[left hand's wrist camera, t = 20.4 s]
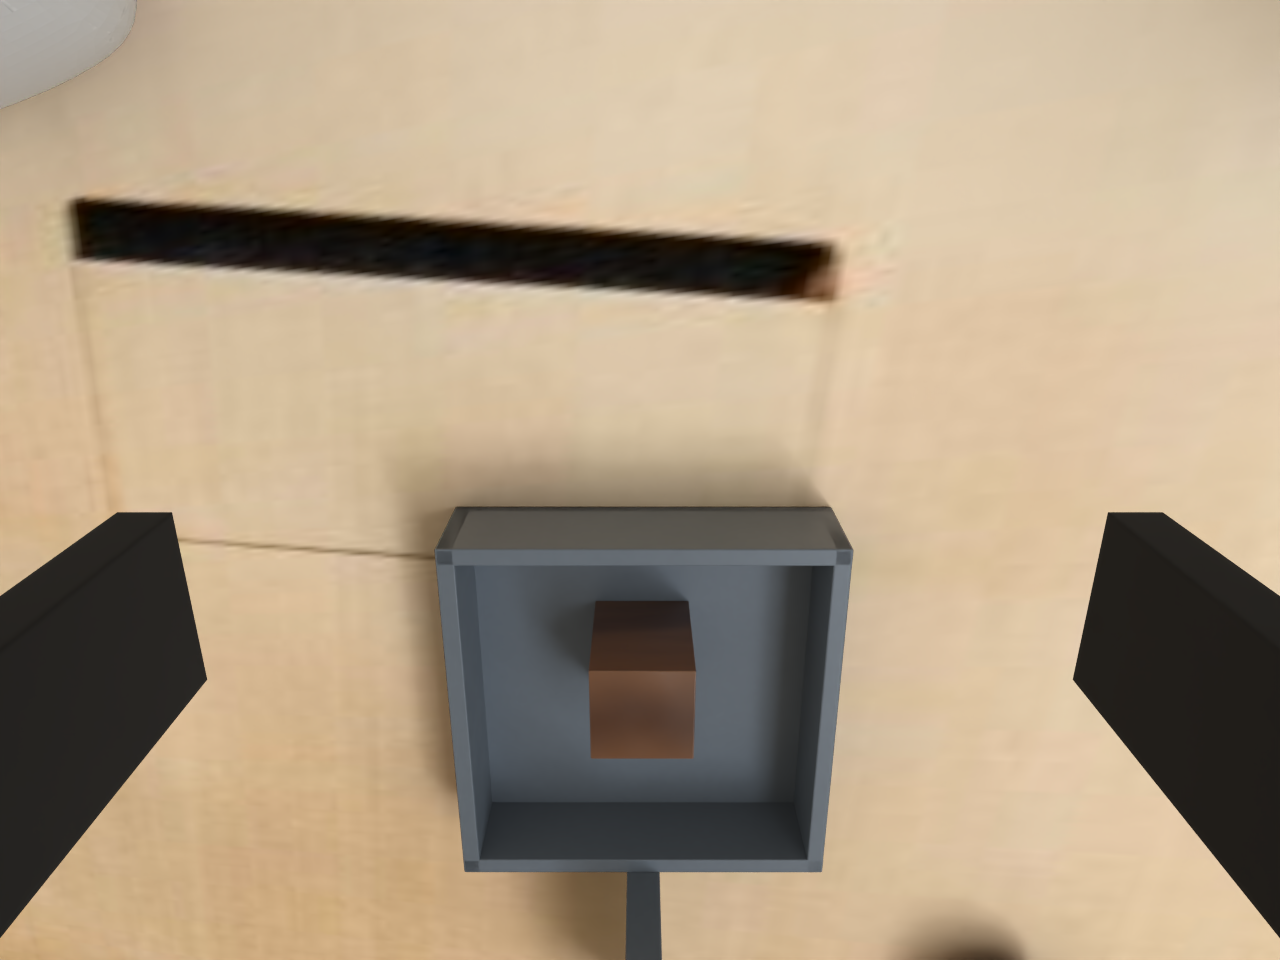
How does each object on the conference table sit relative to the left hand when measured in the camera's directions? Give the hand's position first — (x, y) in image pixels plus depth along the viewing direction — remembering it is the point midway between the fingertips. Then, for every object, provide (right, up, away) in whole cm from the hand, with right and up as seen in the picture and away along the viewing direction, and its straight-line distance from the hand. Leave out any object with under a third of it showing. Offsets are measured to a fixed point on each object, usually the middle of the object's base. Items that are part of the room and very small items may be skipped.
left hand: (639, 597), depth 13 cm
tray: (0, -14, +34) cm, 37 cm away
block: (0, -6, +30) cm, 31 cm away
